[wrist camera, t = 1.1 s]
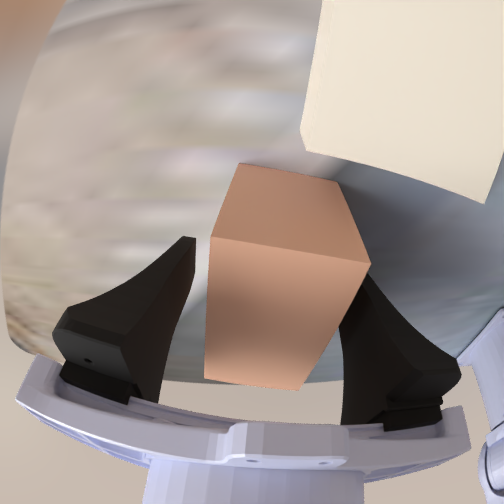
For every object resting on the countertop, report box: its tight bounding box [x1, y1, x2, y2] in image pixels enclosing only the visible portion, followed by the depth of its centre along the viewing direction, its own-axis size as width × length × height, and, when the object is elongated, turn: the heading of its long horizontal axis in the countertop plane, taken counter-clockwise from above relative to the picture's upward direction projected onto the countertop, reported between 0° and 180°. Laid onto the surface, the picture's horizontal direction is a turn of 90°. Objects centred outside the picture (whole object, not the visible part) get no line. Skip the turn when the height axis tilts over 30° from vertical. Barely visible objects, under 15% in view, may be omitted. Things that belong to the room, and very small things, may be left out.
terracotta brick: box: [204, 163, 371, 391], centre depth 12 cm, size 4×8×6 cm, turn 172°
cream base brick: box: [300, 0, 504, 204], centre depth 6 cm, size 8×12×4 cm, turn 172°
